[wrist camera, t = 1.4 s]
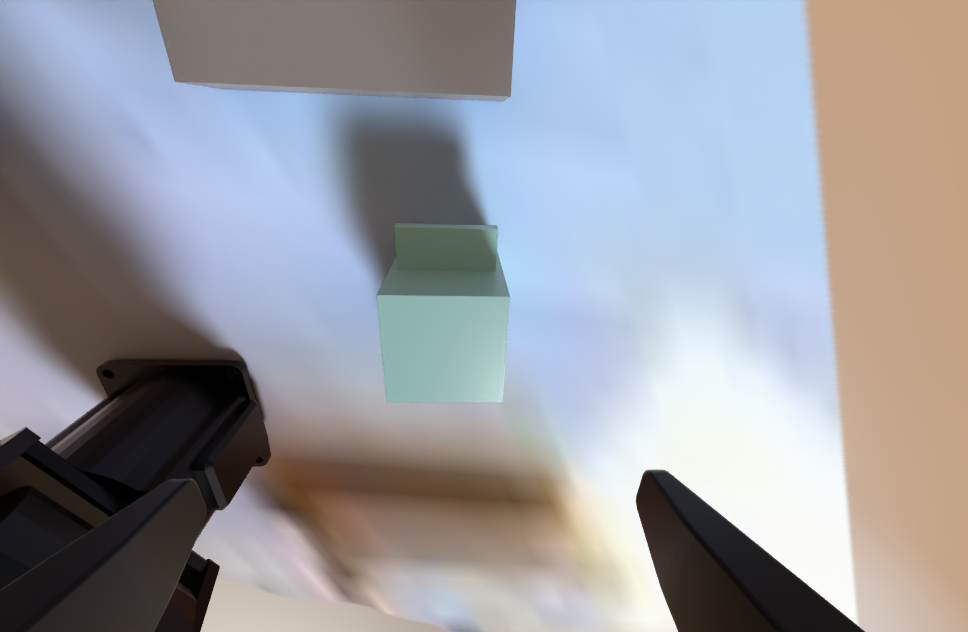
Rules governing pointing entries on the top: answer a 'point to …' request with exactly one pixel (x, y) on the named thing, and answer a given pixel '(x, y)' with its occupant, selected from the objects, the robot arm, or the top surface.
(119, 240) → the top surface
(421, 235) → the block
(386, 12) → the pocket plate
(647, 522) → the robot arm
